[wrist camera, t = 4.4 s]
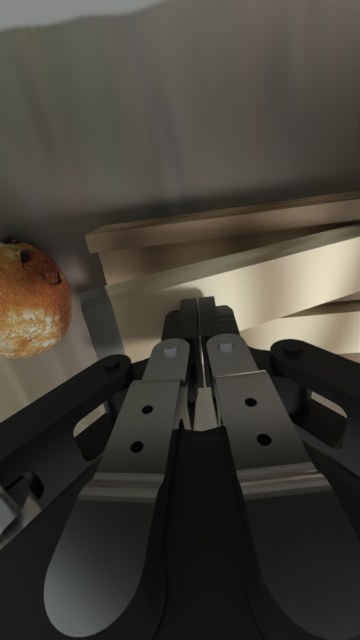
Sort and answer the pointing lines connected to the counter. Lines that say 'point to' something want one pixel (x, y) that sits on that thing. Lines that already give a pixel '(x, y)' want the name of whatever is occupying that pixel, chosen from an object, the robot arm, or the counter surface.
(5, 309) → the bread roll
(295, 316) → the wooden slat frame
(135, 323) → the hinged leg
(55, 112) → the counter surface
